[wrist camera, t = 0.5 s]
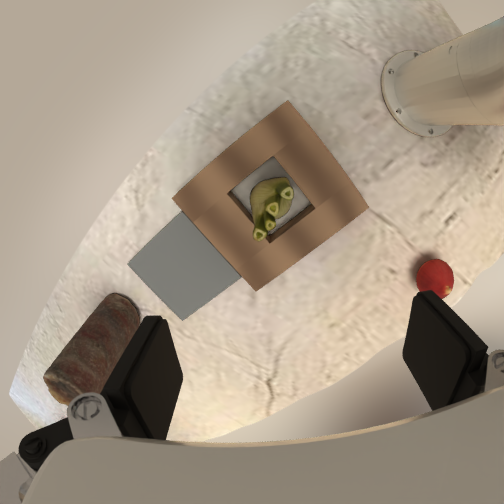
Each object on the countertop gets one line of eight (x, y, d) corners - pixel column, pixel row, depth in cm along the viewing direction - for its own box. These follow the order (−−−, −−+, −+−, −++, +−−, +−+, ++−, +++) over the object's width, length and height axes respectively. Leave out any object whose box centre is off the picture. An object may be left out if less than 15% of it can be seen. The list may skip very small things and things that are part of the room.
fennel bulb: (281, 168, 36) (288, 178, 24) (300, 201, 37) (315, 227, 26) (241, 191, 37) (230, 211, 26) (261, 223, 38) (258, 257, 27)
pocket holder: (286, 103, 33) (287, 100, 30) (361, 202, 36) (369, 207, 34) (178, 194, 37) (171, 198, 34) (256, 281, 41) (255, 291, 38)
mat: (183, 210, 38) (181, 211, 37) (241, 275, 41) (241, 277, 40) (128, 262, 41) (127, 264, 40) (183, 318, 44) (182, 320, 43)
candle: (148, 305, 43) (91, 396, 25) (138, 337, 46) (89, 425, 27) (107, 284, 43) (35, 362, 24) (100, 318, 45) (40, 395, 26)
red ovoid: (435, 284, 40) (460, 309, 33) (406, 288, 40) (428, 315, 33) (441, 250, 38) (468, 271, 31) (410, 252, 38) (436, 275, 31)
